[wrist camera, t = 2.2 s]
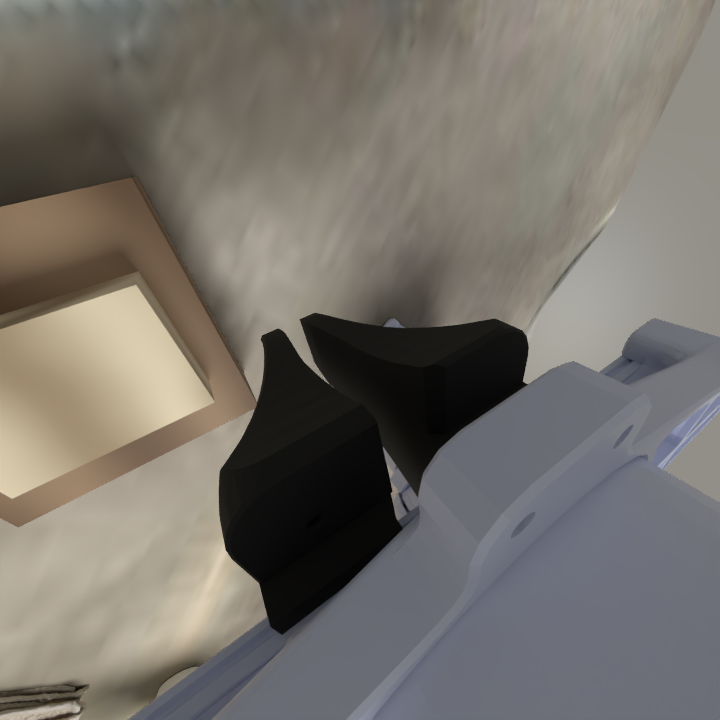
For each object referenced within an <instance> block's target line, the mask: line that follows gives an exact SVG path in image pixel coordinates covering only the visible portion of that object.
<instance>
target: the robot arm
mask: <svg viewBox="0 0 720 720" xmlns="http://www.w3.org/2000/svg"><path fill="white" fill-rule="evenodd" d="M300 321H301V324H302V327H303V330H304V333H305V336H306V339H307V342H308V345H309V347H310V350H311V353H312V356H313V359H314V362H315V364H316V365H317V367H318V368H319V370H320V371H321V373H322V374H323V376H324V377H325V378H326V380H327V381H328V382H329V383H330V385H329V384H328V383H326V382H325V381H324V380H323V379H321V378H320V377H319V376H318V375H317V374H316V373H315V372H313V371H312V370H311V369H310V368H309V367H308V366H307V365H306V364H305V363H304V362H303V360H302V359H301V358H300V356H299V355H298V353H297V351H296V350H295V348H294V347H293V345H292V343H291V342H290V340H289V338H288V337H287V335H286V334H285V333H284V332H283V331H282V330H280V329H276V330H274V331H272V332H269V333H267V334H265V335H263V336H262V338H261V341H262V343H263V347H264V373H263V381H262V387H261V391H260V395H259V399H258V402H257V405H256V408H255V411H254V413H253V416H252V418H251V421H250V423H249V425H248V427H247V429H246V431H245V433H244V435H243V437H242V439H241V440H240V442H239V444H238V445H237V447H236V448H235V449H234V451H233V452H232V454H231V455H230V457H229V458H228V460H227V461H226V463H225V464H224V466H223V467H222V468H221V470H220V477H219V514H220V522H221V527H222V533H223V538H224V543H225V548H226V551H227V552H228V554H229V555H230V557H231V558H232V560H233V561H235V562H236V563H237V564H238V565H239V566H240V567H241V568H243V569H244V570H245V571H246V572H247V573H248V574H249V575H251V576H252V577H253V578H254V579H255V580H256V581H257V582H259V584H260V588H261V592H262V596H263V600H264V604H265V608H266V612H267V616H268V617H266V618H265V619H263V620H262V621H261V622H259V623H258V624H257V625H255V626H254V627H253V628H251V629H250V630H249V631H247V632H246V633H244V634H243V635H242V636H240V637H239V638H238V639H236V640H235V641H234V642H232V643H231V644H230V645H228V646H227V647H225V648H224V649H223V650H221V651H220V652H219V653H217V654H216V655H215V656H213V657H212V658H211V659H209V660H208V661H206V662H205V663H204V664H202V665H201V666H200V667H198V668H197V669H196V670H194V671H193V672H192V673H190V674H189V675H187V676H186V677H185V678H183V679H182V680H181V681H179V682H178V683H177V684H175V685H174V686H173V687H171V688H170V689H168V690H167V691H166V692H164V693H163V694H162V695H160V696H159V697H158V698H156V699H155V700H154V701H152V702H151V703H149V704H148V705H147V706H145V707H144V708H143V709H141V710H140V711H139V712H137V713H136V714H135V715H133V716H132V717H130V718H129V719H128V720H720V503H719V502H717V501H716V500H714V499H713V498H711V497H709V496H707V495H706V494H704V493H702V492H700V491H699V490H697V489H695V488H693V487H692V486H690V485H689V484H687V483H685V482H683V481H682V480H679V479H678V478H677V477H675V476H673V475H671V474H670V473H668V472H666V471H665V470H664V469H665V468H666V467H667V466H668V465H669V464H670V462H671V461H672V460H673V459H674V458H675V457H676V456H677V455H678V454H679V453H680V452H681V451H682V449H683V448H684V447H685V446H686V445H687V444H688V443H689V442H690V441H691V440H692V439H693V438H694V437H695V436H696V435H697V434H698V433H699V432H700V431H701V430H702V429H703V428H704V427H705V426H706V425H707V424H708V423H709V421H710V420H711V419H712V418H713V417H714V416H715V415H716V414H717V413H718V412H719V410H720V337H718V336H714V335H711V334H708V333H704V332H701V331H697V330H694V329H690V328H687V327H683V326H680V325H676V324H673V323H669V322H666V321H662V320H659V319H656V318H654V319H651V320H650V321H648V322H647V323H646V324H644V325H643V326H641V327H640V328H639V329H637V330H636V331H634V332H633V333H632V334H631V336H630V337H629V338H628V340H627V342H626V344H625V346H624V348H623V351H622V356H620V357H619V358H618V359H617V360H615V361H614V362H612V363H611V364H609V365H608V366H607V367H605V368H604V369H603V370H601V371H600V372H597V371H594V370H592V369H590V368H588V367H585V366H583V365H581V364H579V363H577V362H574V361H572V362H569V363H565V364H562V365H560V366H557V367H555V368H552V369H550V370H549V371H547V372H546V373H545V374H543V375H541V376H540V377H538V378H537V379H536V380H534V381H532V382H531V383H530V384H526V383H524V382H523V377H524V372H525V367H526V362H527V357H528V348H529V347H528V342H527V337H526V335H525V334H524V332H523V331H522V330H520V329H517V328H515V327H513V326H511V325H509V324H506V323H504V322H502V321H500V320H497V319H490V320H484V321H478V322H473V323H467V324H461V325H453V326H443V327H430V328H405V327H403V326H402V325H400V323H399V322H398V321H397V320H396V319H394V318H391V319H389V320H388V321H387V322H386V323H385V325H384V326H375V325H368V324H362V323H357V322H352V321H348V320H343V319H339V318H335V317H331V316H327V315H323V314H318V313H314V314H311V315H309V316H307V317H304V318H302V319H300ZM387 465H388V467H389V468H390V469H391V470H392V472H393V473H394V474H393V475H392V477H391V478H389V473H388V469H387ZM390 480H391V482H392V483H393V484H394V486H395V487H396V488H397V490H398V491H399V492H398V493H397V494H396V495H395V496H394V499H393V502H394V506H393V502H392V497H391V492H392V487H391V483H390ZM394 507H395V511H394Z"/></svg>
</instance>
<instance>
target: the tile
mask: <svg viewBox="0 0 720 720" xmlns="http://www.w3.org/2000/svg"><path fill="white" fill-rule="evenodd" d="M214 402H215V400H214V396H213V392H212V388H211V385H210V381H209V379H208V378H207V376H206V375H205V373H204V372H203V370H202V368H201V367H200V365H199V364H198V362H197V361H196V359H195V358H194V356H193V355H192V353H191V352H190V350H189V348H188V347H187V345H186V344H185V342H184V341H183V339H182V338H181V336H180V335H179V333H178V331H177V330H176V328H175V327H174V325H173V324H172V322H171V321H170V319H169V318H168V316H167V315H166V313H165V311H164V310H163V308H162V307H161V305H160V304H159V302H158V301H157V299H156V298H155V296H154V294H153V293H152V291H151V290H150V288H149V287H148V285H147V284H146V282H145V281H144V279H143V278H142V276H141V274H140V273H139V271H138V272H135V273H131V274H128V275H125V276H122V277H119V278H116V279H112V280H109V281H106V282H103V283H100V284H97V285H94V286H90V287H87V288H84V289H81V290H78V291H75V292H71V293H68V294H65V295H62V296H59V297H56V298H53V299H49V300H46V301H43V302H40V303H37V304H34V305H30V306H27V307H24V308H21V309H18V310H15V311H12V312H8V313H5V314H2V315H0V492H1V493H3V494H4V495H6V496H8V497H10V498H11V499H13V498H15V497H17V496H19V495H21V494H24V493H26V492H28V491H30V490H32V489H34V488H36V487H38V486H40V485H42V484H45V483H47V482H49V481H51V480H53V479H55V478H57V477H59V476H61V475H63V474H65V473H68V472H70V471H72V470H74V469H76V468H78V467H80V466H82V465H84V464H86V463H89V462H91V461H93V460H95V459H97V458H99V457H101V456H103V455H105V454H107V453H110V452H112V451H114V450H116V449H118V448H120V447H122V446H124V445H126V444H128V443H131V442H133V441H135V440H137V439H139V438H141V437H143V436H145V435H147V434H149V433H151V432H154V431H156V430H158V429H160V428H162V427H164V426H166V425H168V424H170V423H172V422H175V421H177V420H179V419H181V418H183V417H185V416H187V415H189V414H191V413H193V412H196V411H198V410H200V409H202V408H204V407H206V406H208V405H210V404H212V403H214Z"/></svg>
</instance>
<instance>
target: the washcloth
mask: <svg viewBox="0 0 720 720" xmlns="http://www.w3.org/2000/svg"><path fill="white" fill-rule="evenodd" d="M88 689H89V685H86V686H84V687H82V688H79V689H76V690H75V687H73V686H72V687H70V686H66V685H63V686H51V687H40V688H32V689H25V690H20V691H11V692H0V720H79V719H80V716H81V715H82V714H83V713H84V711H85V709H86V704H85V703H84V702H82V701H80V698H82V696H83V695H84V694H85V693H86V692H87V690H88Z"/></svg>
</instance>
